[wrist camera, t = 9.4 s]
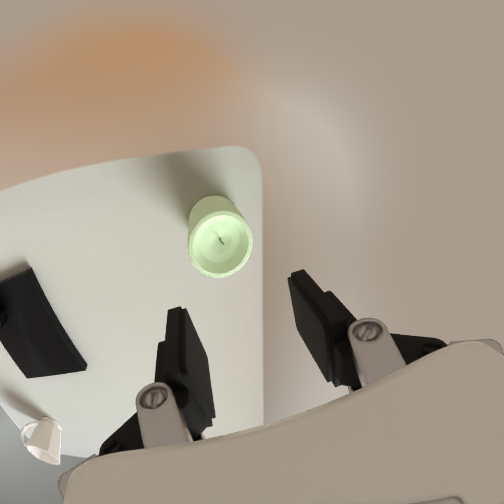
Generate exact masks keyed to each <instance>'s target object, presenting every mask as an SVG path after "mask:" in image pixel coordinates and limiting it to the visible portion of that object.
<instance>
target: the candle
mask: <svg viewBox="0 0 504 504" xmlns="http://www.w3.org/2000/svg"><path fill="white" fill-rule="evenodd" d="M252 245H253V239H252V232H251V229H250V227H249V225H248V223H247V222H246V220H245V219H244V217H243V216H242V215H241V213H240V212H239V210H238V209H237V208H236V206H235V205H234V204H233V203H232V202H231V201H230V200H228V199H227V198H225V197H222V196H218V195H215V196H208V197H204V198H203V199H201V200H199V201H198V202H197V203H196V204H195V205H194V206H193V208H192V210H191V212H190V216H189V228H188V254H189V257H190V260H191V262H192V264H193V265H194V267H195V268H196V269H197V270H198V271H199V272H201V273H202V274H204V275H206V276H209V277H215V278H220V277H226V276H229V275H231V274H233V273H235V272H236V271H238V270H239V269H240V268H241V267H242V266H243V265H244V264H245V262H246V261H247V259H248V257H249V255H250V253H251V249H252Z"/></svg>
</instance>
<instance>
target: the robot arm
mask: <svg viewBox="0 0 504 504" xmlns="http://www.w3.org/2000/svg"><path fill="white" fill-rule="evenodd" d="M288 284H289V289H290V295H291V300H292V305H293V311H294V316H295V322H296V327H297V330H298V332H299V334H300V335H301V337H302V339H303V341H304V342H305V344H306V346H307V348H308V349H309V351H310V353H311V355H312V356H313V358H314V360H315V362H316V363H317V365H318V367H319V369H320V370H321V372H322V374H323V376H324V377H325V379H326V381H327V382H330V381H332V383H333V384H334V386H335V387H337V386H340V385H345V386H348V389H349V393H350V394H347V395H345V396H343V397H341V398H338V399H336V400H333V401H331V402H328V403H326V404H323V405H321V406H318V407H316V408H313V409H310V410H307V411H305V412H302V413H299V414H296V415H293V416H291V417H287V418H284V419H281V420H278V421H275V422H272V423H268V424H265V425H262V426H258V427H255V428H251V429H247V430H243V431H239V432H235V433H231V434H227V435H223V436H218V437H214V438H209V439H205V437H204V435H203V433H202V432H203V431H204V430H205V429H206V427H210V426H213V425H212V418H215V417H216V416H215V409H214V402H213V395H212V388H211V380H210V372H209V364H208V358H207V355H206V352H205V350H204V348H203V345H202V343H201V341H200V339H199V337H198V334H197V332H196V330H195V327H194V325H193V323H192V321H191V318H190V316H189V313H188V311H187V309H186V308H185V309H182V308H181V307H176V308H173V309H169V310H168V315H167V325H166V335H165V341H162V342H159V343H158V350H157V359H156V370H155V382H154V383H152V384H149V385H147V386H145V387H144V388H143V389H141V390H140V392H139V393H138V394H137V397H136V408H137V412H136V413H135V414H134V415H133V416H132V417H131V418H130V419H129V420H128V421H126V422H125V423H124V424H123V425H122V426H121V427H120V428H119V429H118V430H117V431H116V432H114V433H113V434H112V435H111V436H110V437H109V438H108V439H107V440H106V441H105V442H104V443H103V444H102V446H101V448H100V451H99V455H98V456H97V455H95V454H93V455H92V456H90V457H89V458H87V459H86V460H84V461H83V462H81V463H79V464H78V465H76V466H75V467H73V468H71V469H70V470H68V471H67V472H65V473H63V474H62V475H61V477H60V478H59V480H58V488H59V491H60V493H61V496H62V498H63V500H64V501H63V504H504V353H503V349H502V347H501V345H500V344H499V343H498V342H497V341H495V340H493V339H481V340H470V341H455V342H454V341H453V342H450V344H449V345H447V344H446V343H444V342H443V341H442V340H440V339H436V338H429V337H419V336H409V335H400V334H391V333H389V331H388V329H387V327H386V326H385V324H384V323H383V322H381V321H380V320H378V319H374V318H363V319H360V320H357V319H356V318H355V317H354V316H353V315H352V314H351V313H350V311H349V310H348V309H347V308H346V307H345V306H344V305H343V304H342V303H341V302H340V300H339V299H338V298H337V297H336V296H335V295H334V294H333V293H332V292H331V291H327V292H323V291H322V290H321V288H320V287H319V286H318V285H317V284H316V283H315V282H314V280H313V279H312V278H311V277H310V276H309V275H308V274H307V273H306V271H305V270H304V269H303V270H300V271H296V272H293V273H291V277H288Z"/></svg>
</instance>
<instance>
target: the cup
mask: <svg viewBox="0 0 504 504" xmlns="http://www.w3.org/2000/svg"><path fill="white" fill-rule="evenodd" d="M36 424H38V426H37V427H36V428H35V430H34V432H33V434H32V436H31V437H30V439H29V441H28V443H27V444H26V443H24V441H23V435H24V432H25V430H26V429H27V428H29V427H31V426H34V425H36ZM60 431H61V425H60V424H58V423H57V422H56V421H55V420H53V419H51V418H48V417H43V418H42V420H38V421H34V422H31V423H28V424H26V425H25V426H24V427H23V428H22V430H21V433H20V439H21V442H22V443H23V444H24V445H25V446H26V447H27V448H28V451H29V452H30V453H32V454H33V455H34V456H36V457H37V458H38V459H40V460H42V461H44V462H47V463H49V464H54V465H60V450H61V434H60Z"/></svg>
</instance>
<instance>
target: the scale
mask: <svg viewBox="0 0 504 504" xmlns="http://www.w3.org/2000/svg"><path fill="white" fill-rule="evenodd" d="M0 341H1V343H2V344H3V346H4V347H5V349H6V350H7V352H8V353H9V355H10V356H11V358H12V359H13V360H14V362H15V363H16V365H17V366H18V367H19V369H20V370H21V371H22V373H23V374H24V375H25V376H26V378H35V377H44V376H52V375H59V374H66V373H73V372H79V371H85V370H86V368H87V363H86V362H85V361H84V359H83V358H82V356H81V355H80V353H79V352H78V350H77V349H76V347H75V346H74V344H73V343H72V341H71V340H70V338H69V336H68V335H67V333H66V332H65V330H64V328H63V327H62V325H61V323H60V322H59V320H58V318H57V316H56V315H55V313H54V311H53V309H52V307H51V306H50V304H49V302H48V300H47V298H46V296H45V294H44V292H43V290H42V288H41V286H40V284H39V282H38V280H37V278H36V276H35V274H34V272H33V269H32V268H31V269H28V270H26V271H24V272H21V273H19V274H17V275H14V276H12V277H10V278H8V279H5V280H3V281H1V282H0Z"/></svg>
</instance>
